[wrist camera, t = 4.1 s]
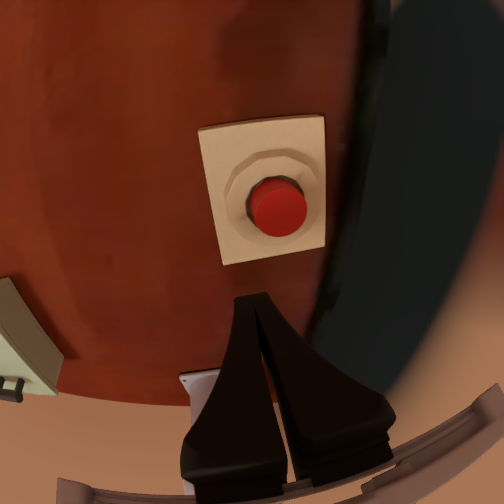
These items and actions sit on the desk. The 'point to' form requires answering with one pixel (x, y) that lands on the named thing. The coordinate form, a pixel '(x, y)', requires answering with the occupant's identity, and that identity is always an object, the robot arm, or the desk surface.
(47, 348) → the box
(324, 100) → the desk surface
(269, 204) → the power button
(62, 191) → the desk surface
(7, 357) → the freezer lid
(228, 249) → the control block
